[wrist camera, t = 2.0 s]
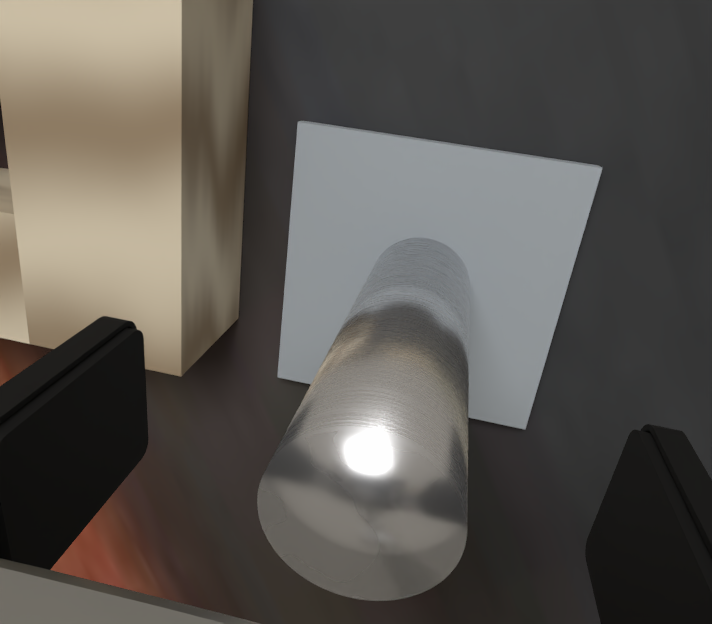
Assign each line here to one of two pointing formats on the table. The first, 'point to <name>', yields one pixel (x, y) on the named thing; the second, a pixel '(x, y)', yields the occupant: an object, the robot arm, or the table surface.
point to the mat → (441, 223)
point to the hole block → (123, 170)
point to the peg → (381, 437)
